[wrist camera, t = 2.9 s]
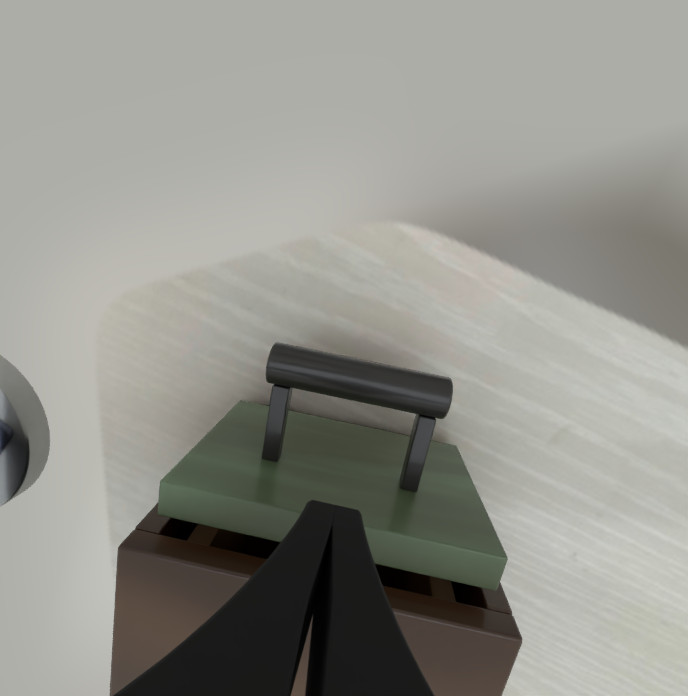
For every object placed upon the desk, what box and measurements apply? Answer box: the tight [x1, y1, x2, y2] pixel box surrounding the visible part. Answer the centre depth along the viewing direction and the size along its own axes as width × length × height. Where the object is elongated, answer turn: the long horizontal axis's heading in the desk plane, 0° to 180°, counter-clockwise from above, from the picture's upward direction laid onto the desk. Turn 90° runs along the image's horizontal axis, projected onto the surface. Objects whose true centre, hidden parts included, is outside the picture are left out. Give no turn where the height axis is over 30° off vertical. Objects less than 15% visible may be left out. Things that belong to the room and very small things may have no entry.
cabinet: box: [110, 503, 522, 696], centre depth 16 cm, size 13×12×9 cm
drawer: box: [158, 342, 507, 602], centre depth 15 cm, size 16×10×7 cm, turn 169°
